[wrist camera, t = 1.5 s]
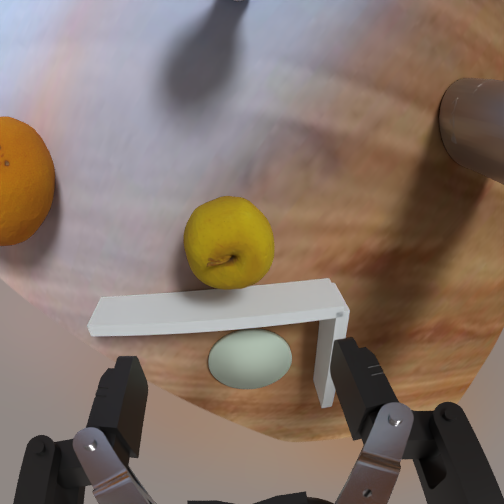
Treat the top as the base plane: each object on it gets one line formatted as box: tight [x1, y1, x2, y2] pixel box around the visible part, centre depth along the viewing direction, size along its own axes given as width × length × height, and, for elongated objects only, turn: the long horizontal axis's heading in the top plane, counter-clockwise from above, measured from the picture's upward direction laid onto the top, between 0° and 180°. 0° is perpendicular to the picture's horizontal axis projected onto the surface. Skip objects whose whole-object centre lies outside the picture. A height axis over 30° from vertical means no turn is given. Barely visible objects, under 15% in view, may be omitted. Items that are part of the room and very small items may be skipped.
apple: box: [184, 196, 274, 290], centre depth 23 cm, size 6×6×8 cm
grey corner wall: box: [87, 278, 350, 408], centre depth 30 cm, size 23×15×4 cm, turn 93°
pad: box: [209, 329, 292, 389], centre depth 33 cm, size 9×9×1 cm
